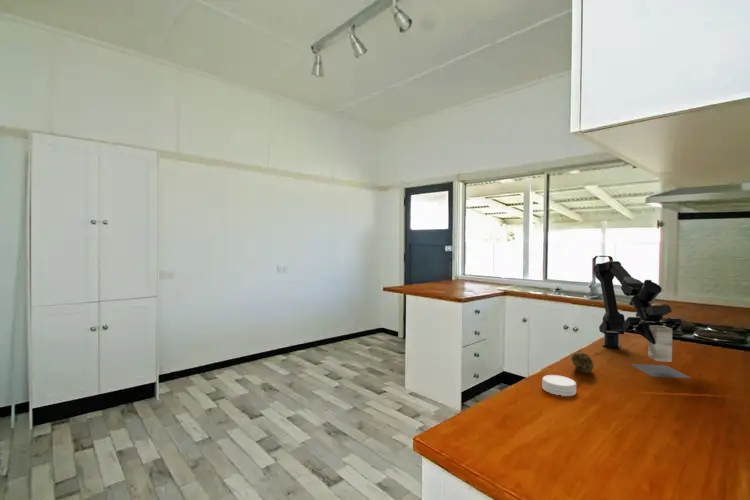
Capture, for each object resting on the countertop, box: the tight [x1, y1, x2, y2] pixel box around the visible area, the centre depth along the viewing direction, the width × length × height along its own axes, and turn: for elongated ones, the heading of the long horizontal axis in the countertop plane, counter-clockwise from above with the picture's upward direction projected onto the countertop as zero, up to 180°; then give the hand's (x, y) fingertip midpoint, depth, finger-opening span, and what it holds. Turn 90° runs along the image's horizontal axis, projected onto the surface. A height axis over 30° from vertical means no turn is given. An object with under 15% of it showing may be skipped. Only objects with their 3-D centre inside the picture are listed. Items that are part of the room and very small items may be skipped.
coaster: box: [541, 374, 577, 397], centre depth 118 cm, size 10×10×4 cm
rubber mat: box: [630, 363, 692, 379], centre depth 133 cm, size 13×13×1 cm
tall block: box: [647, 325, 673, 363], centre depth 133 cm, size 5×5×12 cm
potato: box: [570, 351, 594, 374], centre depth 134 cm, size 8×13×8 cm, turn 133°
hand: (662, 344), depth 132 cm, fingers closed on tall block, 5 cm apart
